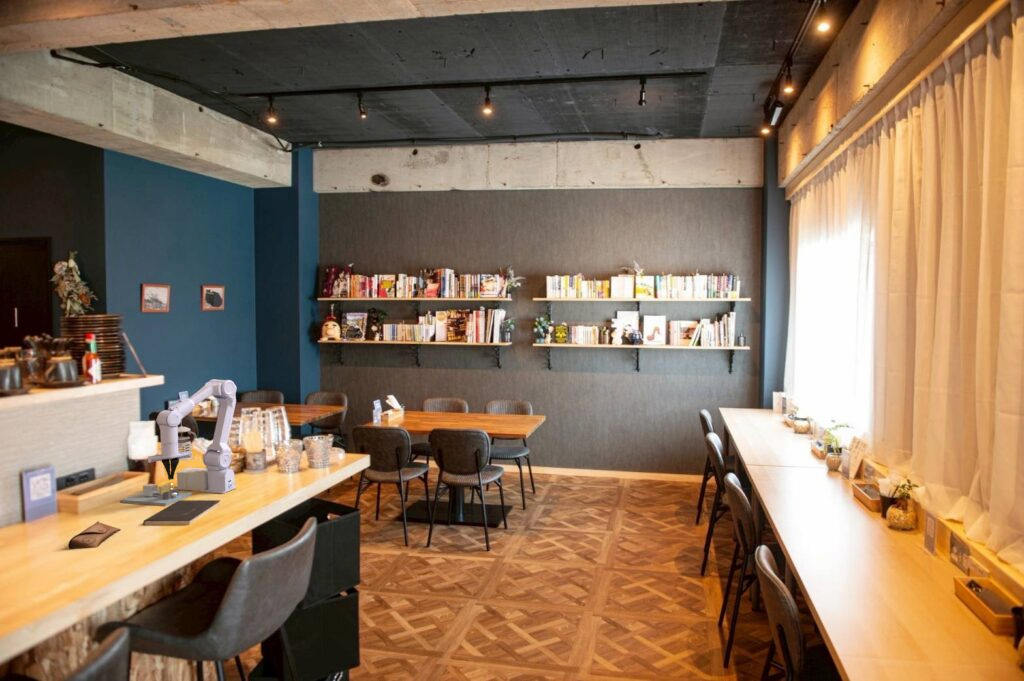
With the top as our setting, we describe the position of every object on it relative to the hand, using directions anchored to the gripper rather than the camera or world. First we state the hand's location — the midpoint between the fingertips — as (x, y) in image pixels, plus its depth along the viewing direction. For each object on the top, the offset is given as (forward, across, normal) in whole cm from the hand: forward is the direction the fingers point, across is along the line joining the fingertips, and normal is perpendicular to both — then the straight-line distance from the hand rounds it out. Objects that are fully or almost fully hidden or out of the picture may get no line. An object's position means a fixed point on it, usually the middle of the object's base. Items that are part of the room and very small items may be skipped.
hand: (170, 479), depth 258 cm
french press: (+10, -15, -81) cm, 83 cm away
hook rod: (+8, +2, -9) cm, 12 cm away
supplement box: (+6, -7, -23) cm, 25 cm away
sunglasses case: (+10, +25, +28) cm, 39 cm away
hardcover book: (+10, -2, +16) cm, 19 cm away
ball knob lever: (+5, +1, -4) cm, 7 cm away
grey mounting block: (+9, 0, -6) cm, 11 cm away
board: (+9, +4, -11) cm, 15 cm away
